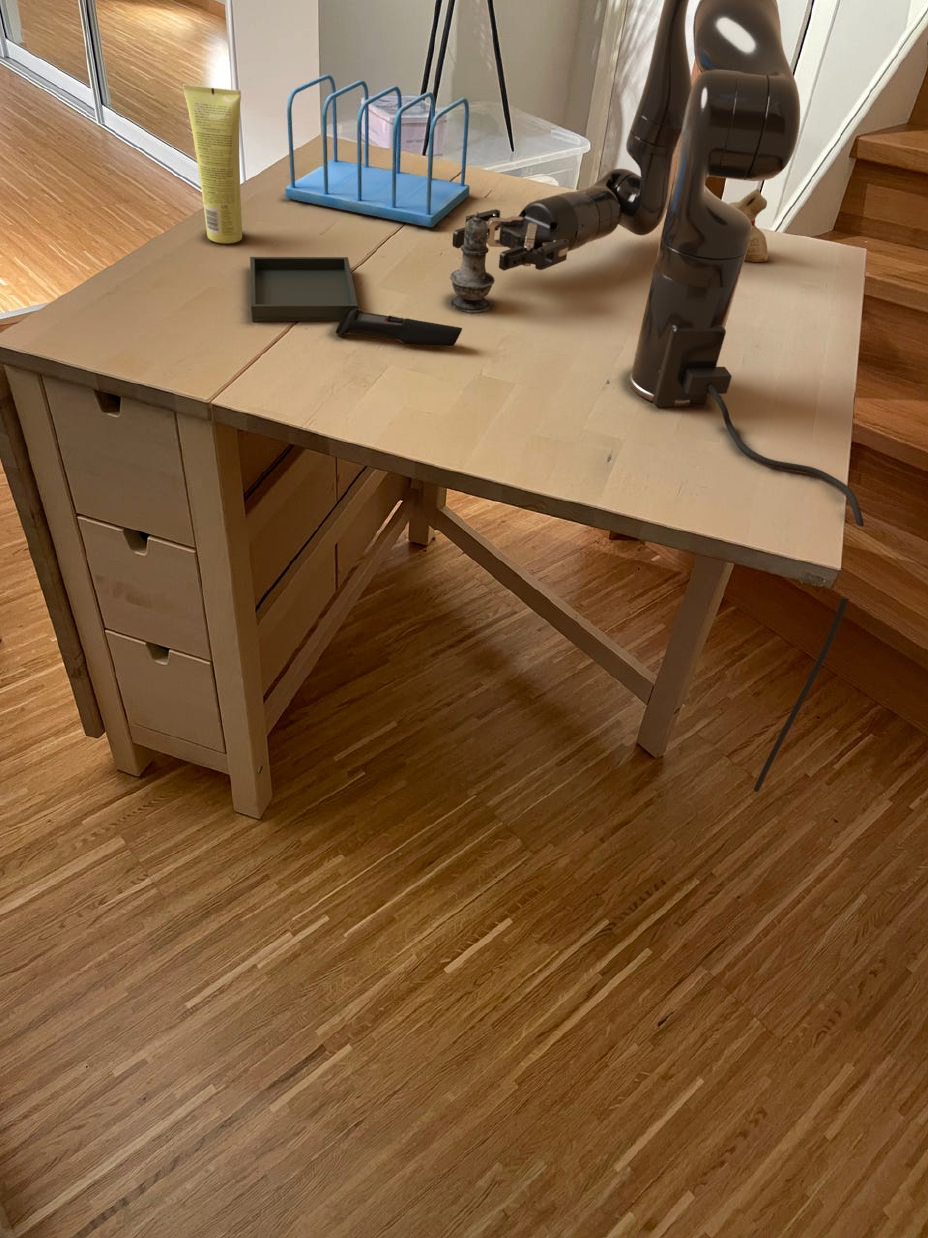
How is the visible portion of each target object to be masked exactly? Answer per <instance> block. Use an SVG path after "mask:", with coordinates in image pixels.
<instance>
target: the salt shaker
mask: <svg viewBox="0 0 928 1238" xmlns="http://www.w3.org/2000/svg"><path fill="white" fill-rule="evenodd" d="M479 213H480V212H479V211H476V213H474V214H475V216H476V217H475V218H474V219H471V220H469V221H468V222H467V223H466V225H465V224H464V227H465V237H464V245H462V246H461V248H460V251H461V252H462V257H461V265H460V268H459V269H456V270H454V271H453V272H451V274H450V275H449V279H450V281H451V286H452V288H453V291H454V293H455V294H456V295H455V296H454V297H452V298H451V300H450V306H451V307H452V308H453V309H455V310H457V311H459V312H463V313H468V314H478V313H479V314H480V313H483V312H486V311H488V310H490V307H491V304H490V302H489V300H488V299H486V297H487V295H489V293H490V291H491V289H492V287H493V285H494V283H495V277H494V276H493V275H492V274H491V273H489V272H488V271H486V270H487V269H486V257H487V254H488V253H489V252H490V248H489V247H488V246H487V243H486V242H487V235H488V233H487V231H488V226H487V224H486V222H485V221H484V220H482V219H480V218H479V216H480V215H479Z"/></svg>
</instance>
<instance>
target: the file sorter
mask: <svg viewBox="0 0 928 1238" xmlns="http://www.w3.org/2000/svg"><path fill="white" fill-rule="evenodd" d="M326 80H328V81H329V82H330V85H331V94H329V95H328V96H327V97H326V98H325V101H324V104H323V108H322V116H321V117H322V119H321V124H322V127H321V129H322V156H323V157H322V159H323V161H322V163H323V164H322V165H321V166H318V167H317V168H315V169H314V170H311V172H308V173H307V174H305V175H304V176H302V177H300V178H298V179H297V180H296V172H295V153H294V136H293V133H294V132H293V118H292V117H293V116H292V107H293V102H294V98H295V96H296V95H297V94H298V93H301V92H302V91H304V90H306V89H308V88H310V87H313V86H315V85H317V84H319V83H322V82H324V81H326ZM360 86H362V88H363V92H364V101H363V102H362V103H361V105H360V107H359V111H358V113H357V124H356V132H357V133H356V142H357V143H356V144H357V145H356V146H357V147H356V149H357V150H356V151H357V152H356V153H357V154H356V155H357V159H356V160H357V162H352V161H346V160H345V161H344V160H341V159H338V121H337V120H338V119H337V118H338V117H337V98H338V97H340V96H342V95H344V94H345V93H347V92H349V91H352V90H353V89H356V88H358V87H360ZM393 92H395V93H396V97H397V112H396V114H395V117H394V121H393V126H392V127H393V128H392V163H391V165H392V166H391V169H388V168H383V167H378V166H372V165H370V164H369V160H370V159H369V156H370V155H369V148H370V147H369V146H370V144H369V143H370V141H369V140H370V139H369V138H370V137H369V135H370V134H369V133H370V131H369V129H370V128H369V127H370V126H369V125H370V124H369V119H370V118H369V117H370V114H369V113H370V111H369V110H370V109H369V108H370V106H369V105H370V104H372V103H374V102H376V101H378V100H380V99H381V98H383V97H385V96H387V95H388V94H391V93H393ZM427 98H429V99H430V125H429V127H430V128H429V136H428V153H427V156H428V157H427V176H425V175H420V174H415V173H410V172H404V171H401V157H402V155H401V154H402V153H401V152H402V115H403V113H404V112H405V111H407V110H409V109H410V108H412V107H413V106H415V105H417V104H418V103H420V102H422V101H423V100H425V99H427ZM402 100H403V99H402V93H401V89H400V87H399V86H397V85H393V86H391V87H388V88H386V89H384V90H383V91H381V92H379V93H377V94H375V95H373V96H371V97H369V88H368V85H367V82H366V81H365V80H358V81H355V82H353V83H351V84H349V85H347V86H344V87H343V88H341V89H338V90H336V83H335V80H334V77H333V76H331V75H330V74H324V75H321V76H320V77H316V78H314V79H312V80H310V81H308V82H305V83H304V84H301V85H299V86H297V87H295V88H293V90H291V91H290V94H289V96H288V99H287V107H286V117H287V118H286V119H287V137H288V156H289V175H290V184H289V185H287V186H285V198H286V199H289V200H293V201H299V202H304V203H308V204H314V205H319V206H323V207H327V208H333V209H338V210H344V211H349V212H354V213H359V214H364V215H369V216H374V217H378V218H383V219H388V220H394V221H398V222H404V223H409V224H413V225H418V226H423V227H429V228H434V227H435V225H436V224H438V223H439V222H440V221H441V220H442V219H443V218H444V217H446V216H447V215H448V214H449V213H451V212H452V211H453V209H455V208H456V207H457V206H458V205H459V204H460V203H461V202H463V201H464V200H465V199H467V197H468V196H469V195H470V184H466V171H467V170H466V168H467V167H466V166H467V154H468V153H467V152H468V137H469V123H470V122H469V120H470V106H469V105H470V104H469V101H468V99H467V98H465V97H460V98H459V99H458V100H456V101H454V102H453V103H451V104H449V105H448V106H445V108H443V109H442V110H440V111H439V112H437V113H436V100H435V95H434V94H433V92H431V91H427V92H425V93H423V94H421V95H419V96H417V97H415V98H413V99H412V100H411V101H409V102H407V103H406V104H404V105H402V103H403V101H402ZM331 102H332V106H331V107H332V137H333V139H332V141H333V142H332V143H333V159H330V160H329V161H328V127H327V126H328V124H327V123H328V122H327V119H328V109H329V105H330V103H331ZM462 104H463V105H464V126H463V128H464V129H463V142H462V155H461V156H462V157H461V158H462V159H461V172H460V182H456V181H451V180H445V179H441V178H435V177H433V170H434V169H433V165H434V148H435V147H434V145H435V130H436V129H435V128H436V125H437V122H438V120H439V119H440V118H442V117H443V116H445V115H446V114H447V113H449V112H451V111H452V110H453V109H455V108H457V107H458V106H460V105H462ZM363 116H364V164H362V163H363V160H362V159H363V158H362V157H363V152H362V149H363V148H362V137H363V135H362V133H363V131H362V129H363V128H362V127H363V123H362V122H363Z"/></svg>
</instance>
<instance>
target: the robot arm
mask: <svg viewBox="0 0 928 1238" xmlns="http://www.w3.org/2000/svg"><path fill="white" fill-rule="evenodd" d="M689 2H690V0H664V1H663V5H662V9H661V12H660V17H659V22H658V26H657V30H656V34H655V35H656V36H655V40H654V45H653V50H652V54H651V58H650V64H649V67H648V71H647V76H646V80H645V83H644V86H643V89H642V93H641V97H640V99H639V103H638V106H637V107H636V111H635V115H634V117H633V121H632V124H631V127H630V130H629V132H628V135H627V139H626V142H625V143H626V144H625V149H626V152H627V154H628V155H629V156H630V158H631V159H632V160H633V161H634V163H636V165H637V166H638V168H639V171H640V175H638V174H637V173H636V172H634V171H632V170H630V169H627V168H613V169H610V170H608V172H606V174H604V175H603V176H602V177H601V178H600V179H598V180H597V181H595V182H594V183H593V184H592V185H590V186H589V187H585V188H583V189H580V190H575V191H568V192H563V193H559V194H555V195H552V196H549V197H544V198H541V199H537V200H533V201H532V202H529V203H528V204H527V205H525V206H524V207H523V209H522V210H521V212H520V213H519V214H518V215H517V216H516V215H514V216H513V215H512V216H510V217H501V210H500V209H496V208H495V209H490V210H486V211H483V212H478V213H479V215H480V216H479V218H480V219H482V220H484V221H485V222H486V224H487V226H488V231H487V242H486V244H487V245H488V246H489V247H490V248H491V247H492V248H508V249H506V250H503V251H501V253H500V254H499V260H498V269H500V270H501V271H507V270H510V269H515V268H517V267H520V266H524V267H531V266H532V265H534V268H535V269H536V270H537V271H543V270H546V269H548V268H550V267H553V266H555V265H558V264H561V263H562V262H565V261H567V257H568V253H569V252H571V251H574V250H577V249H579V248H581V247H583V246H585V245H586V244H589V243H592V242H594V241H597V240H601V239H603V238H605V237H608V236H609V235H611V234H612V233H613V232H614V231H615V230H616V229H617V228H618V227H619V226H620V227H622V228H624V229H625V230H627V231H628V232H630V233H632V234H634V235H635V236H647V235H648V234H651V233H652V232H653V231H655V230H656V229H657V228H658V226H659V225H660V224H661V222H662V221H663V219H664V222H663V227H662V231H661V235H660V240H659V243H658V249H657V253H656V257H655V263H654V266H653V270H652V271H653V272H652V276H651V281H650V285H649V289H648V294H647V298H646V303H645V308H644V313H643V317H642V321H641V326H640V331H639V334H638V340H637V344H636V350H635V354H634V358H633V359H634V360H633V364H632V368H631V370H630V373H629V378H628V383H629V386H630V388H631V389H632V390H633V392H635V393H636V394H637V395H638V396H640V397H642V398H644V399H646V400H648V401H650V402H652V403H653V405H654V406H655V407H657V408H662V407H664V408H665V407H666V408H667V407H668V408H669V407H699V406H706V405H707V404H706V403H707V400H708V396H709V395H711V396H712V398H713V399H714V400H715V402H716V404H717V406H718V407H719V409H720V411H721V415H722V418H723V422H724V424H725V427H726V429H727V431H728V432H729V434H730V436H731V438H732V440H733V441H734V442H735V445H736V446H737V448H738V449H739V450H740V451H741V452H742V453H743V454H744V455H746V456H748V457H749V458H751V459H752V460H754V461H757V462H758V463H760V464H763V465H766V466H769V467H773V468H777V469H780V470H781V469H782V470H787V471H788V470H789V471H795V472H800V473H805V474H809V475H813V476H815V477H818V478H820V479H822V480H824V481H825V482H827V483H829V484H830V485H832V486H834V487H836V488H837V489H838V490H840V491H841V492H842V493H843V494H844V495H845V496H846V498H847V500H848V501H849V504H850V506H851V509H852V513H853V516H854V520H855V524H856V525H857V526H859V527H864V526H865V523H864V518H863V514H862V511H861V508H860V507H861V506H860V505H859V502H858V500H857V497H856V496H855V493H854V492H853V491H852V489H851V488H850V487H849V486H848V485H847V484H845V483H844V482H843V481H841V480H839V479H838V478H836V477H834V476H833V475H830V474H829V473H827V472H825V471H823V470H821V469H818V468H816V467H812V466H808V465H803V464H798V463H793V462H792V463H791V462H786V461H780V460H775V459H772V458H768V457H766V456H764V455H761V454H759V453H758V452H756V451H754V450H753V449H751V448H749V447H748V446H747V445H746V444H745V443H744V441H742V439H741V438H740V436H739V434H738V432H737V431H736V429H735V426H734V425H733V422H732V420H731V416H730V412H729V409H728V408H727V405H726V402H724V400H723V398H722V396H721V395H727V393H728V392H729V391H728V390H729V387H730V384H731V381H732V378H733V377H732V376H733V375H732V374H731V373H730V371H729V370H728V369H727V367H726V366H717V365H718V362H719V358H720V354H721V351H722V348H723V344H724V340H725V337H726V333H727V330H726V325H727V322H728V318H729V315H730V312H731V308H732V306H733V305H732V304H733V301H734V297H735V294H736V290H737V286H738V283H739V280H740V277H741V273H742V270H743V266H744V263H745V261H744V259H745V256H746V252H747V249H748V246H749V242H750V239H751V235H752V224H751V221H750V220H749V218H748V217H747V216H746V215H745V214H744V213H742V212H741V211H740V210H738V209H736V208H734V207H733V206H731V205H729V204H730V203H727V202H726V201H723V200H722V199H720V198H719V197H717V196H716V195H715V194H714V193H713V192H711V190H710V189H709V188H708V187H707V186H706V181H707V179H708V178H709V177H710V178H711V177H713V178H722V179H730V180H739V181H747V182H749V181H750V182H761V181H769V180H771V179H774V178H775V177H776V176H779V174H781V173H782V171H784V169H785V168H786V167H787V166H788V164H789V162H790V161H791V159H792V157H793V155H794V152H795V149H796V146H797V142H798V139H799V132H800V127H801V126H800V125H801V101H800V93H799V89H798V85H797V82H796V79H795V76H794V74H793V71H792V69H791V66H790V64H789V62H788V59H787V56H786V54H785V50H784V46H783V39H782V29H781V28H782V27H781V18H780V11H779V5H778V1H777V0H699V1H698V4H697V6H696V9H695V12H694V17H693V26H692V27H693V28H692V34H693V36H692V37H693V51H694V52H693V53H694V59H695V62H696V64H697V67H698V69H699V71H700V74H699V75H698V76H697V77H696V79H695V81H694V82H693V81H692V74H691V67H690V61H689V55H688V47H687V36H686V20H687V13H688V7H689ZM678 144H679V145H678ZM677 147H678V151H677V158H676V163H675V170H674V174H673V180H672V185H671V179H672V171H673V165H674V163H673V162H674V157H675V153H676V150H677ZM670 189H671V190H670ZM475 214H476V213H474V214H470V215H466V216H465V223H464V227H461V228H458V229H455V230H454V231H453V233H452V241H451V242H452V247H454V248H455V249H461V246H462V245H464V237H465V225H466V223H467V222H468V221H469V220H471V219H474V218H475V217H476V216H475ZM664 217H665V218H664ZM496 231H499V234H498V235H499V236H498V239H495V235H496ZM849 600H850V598H849V597H848V598H842V599H840V602H839V605H838V608H837V611H836V613H835V616H834V619H833V621H832V624H831V627H830V629H829V632H828V635H827V636H826V639H825V642H824V644H823V646H822V649H821V650H820V653H819V655H818V657H817V659H816V661H815V664H814V665H813V668H812V670H811V672H810V674H809V676H808V678H807V680H806V682H805V684H804V685H803V688H802V690H801V692H800V695H798V698H797V700H796V702H795V704H794V706H793V708H792V710H791V712H790V713H789V716H788V717H787V719H786V721H785V724H784V725H783V727H782V729H781V731H780V733H779V735H778V737H777V739H776V741H775V743H774V744H773V747H772V749H771V751H770V753H769V755H768V757H767V760H766V762H765V763H764V765H763V768H762V770H761V772H760V774H759V776H758V778H757V780H756V782H755V785H754V787H753V791H754V792H755V793H759V792H760V790H761V788H762V786H763V784H764V781H765V779H766V777H767V774H768V772H769V770H770V768H771V767H772V765H773V762H774V760H775V758H776V756H777V754H778V752H779V751H780V748H781V747H782V744H783V742H784V741H785V739H786V736H787V735H788V733H789V731H790V729H791V727H792V725H793V724H794V721H795V720H796V717H797V716H798V713H799V712H800V710H801V708H802V706H803V704H804V702H805V700H806V698H807V697H808V694H809V693H810V692H811V691H810V690H811V688H812V686H813V684H814V683H815V681H816V678H817V676H818V674H819V673H820V671H821V668H822V666H823V664H824V662H825V660H826V658H827V656H828V654H829V651H830V649H831V646H832V644H833V641H834V640H835V638H836V635H837V633H838V630H839V628H840V624H841V622H842V619H843V617H844V614H845V611H846V609H847V605H848V602H849Z"/></svg>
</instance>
